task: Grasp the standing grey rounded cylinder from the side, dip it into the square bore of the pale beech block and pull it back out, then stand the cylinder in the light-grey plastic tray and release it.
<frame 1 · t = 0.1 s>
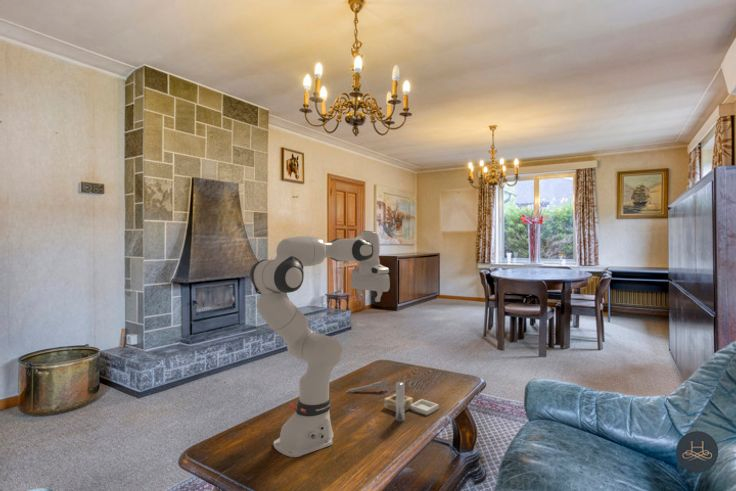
hand: (369, 300, 170), 48 cm above the table, tool pointing down, fingers open, 8 cm apart
grey rounded cylinder: (400, 419, 162), on the table
caliper: (366, 392, 192), on the table
bore block: (398, 407, 174), on the table
tray: (424, 409, 172), on the table
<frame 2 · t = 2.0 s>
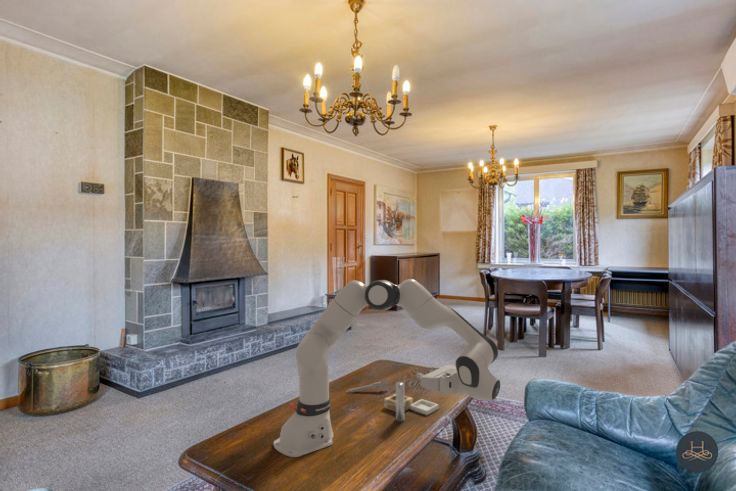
hand: (424, 372, 153), 22 cm above the table, tool horizontal, fingers open, 8 cm apart
nothing on the table moved.
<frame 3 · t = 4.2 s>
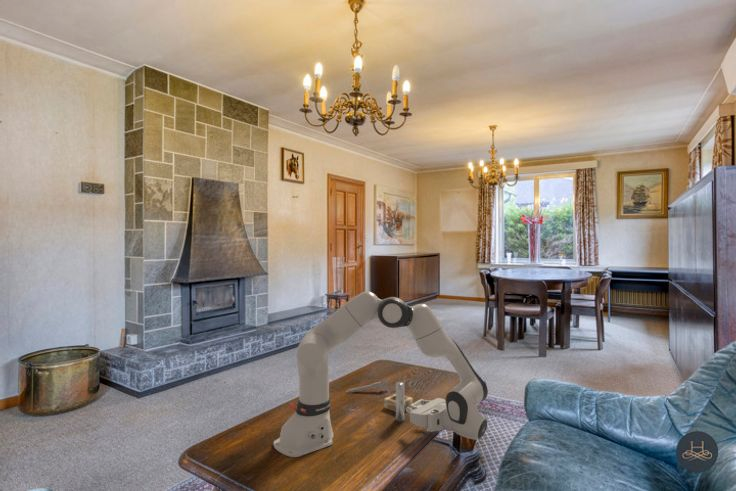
hand: (414, 405, 156), 8 cm above the table, tool horizontal, fingers open, 8 cm apart
nothing on the table moved.
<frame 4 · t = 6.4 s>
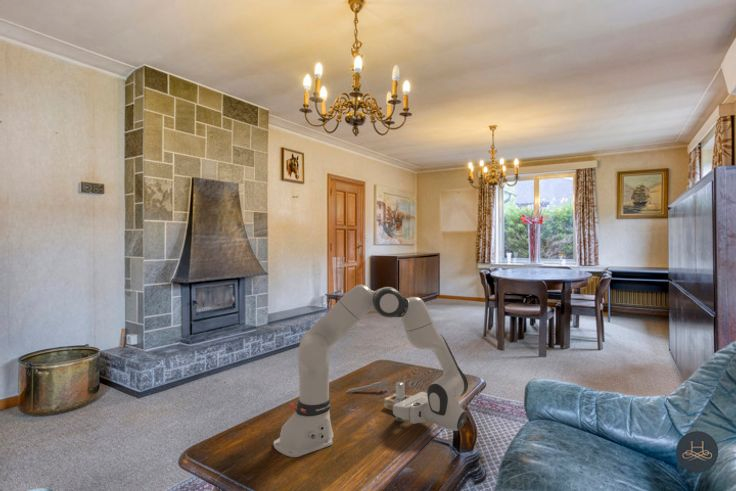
hand: (398, 398, 162), 8 cm above the table, tool horizontal, fingers closed on grey rounded cylinder, 4 cm apart
grey rounded cylinder: (400, 419, 162), on the table, touching gripper
everything else where it was.
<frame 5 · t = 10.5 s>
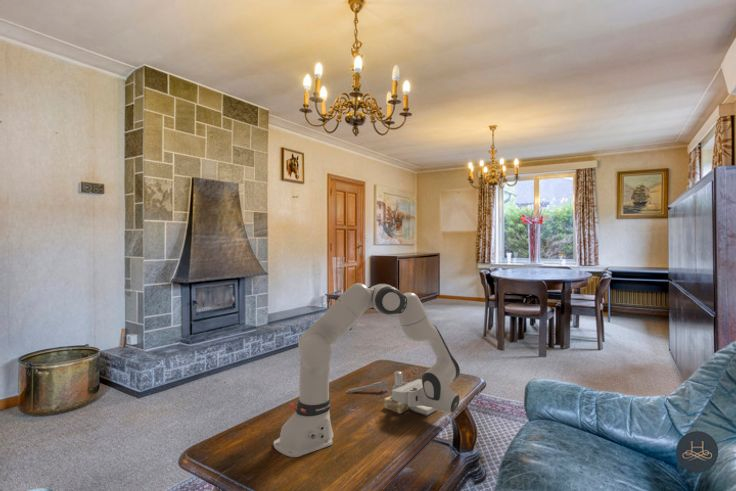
hand: (396, 385, 174), 9 cm above the table, tool horizontal, fingers closed on grey rounded cylinder, 4 cm apart
grey rounded cylinder: (398, 406, 174), point 1 cm above the table, touching gripper
everything else where it was.
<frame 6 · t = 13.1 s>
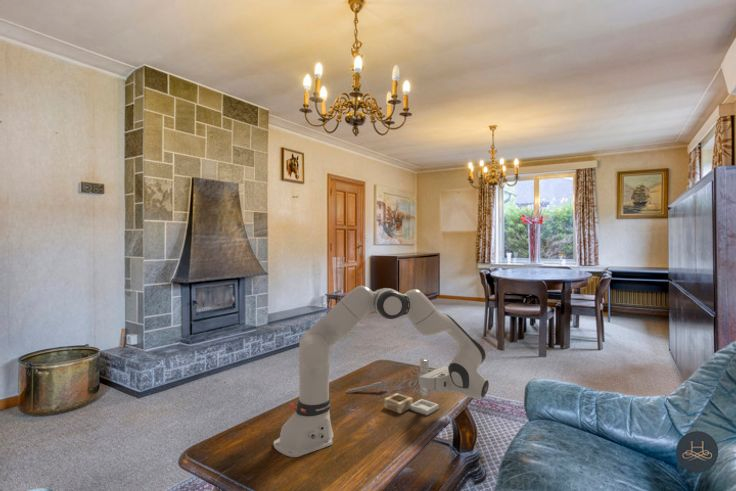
hand: (422, 372, 172), 16 cm above the table, tool horizontal, fingers closed on grey rounded cylinder, 4 cm apart
grey rounded cylinder: (424, 394, 171), point 7 cm above the table, touching gripper
everything else where it was.
when the fingers open (10 cm above the table, at t = 14.7 s): grey rounded cylinder stays where it is, resting on tray.
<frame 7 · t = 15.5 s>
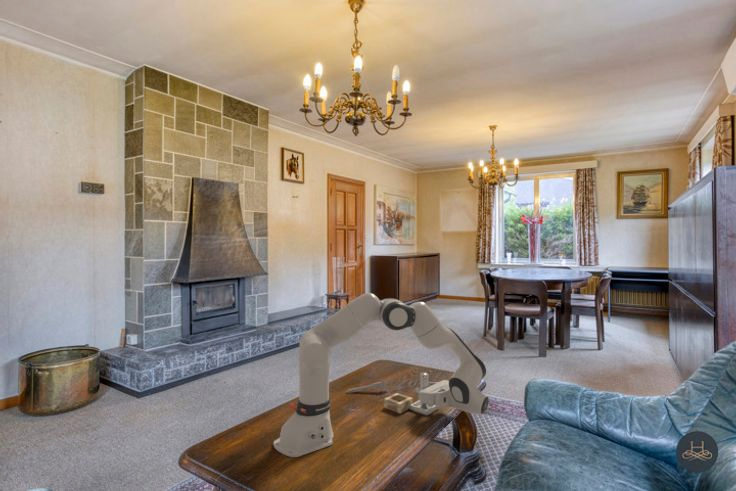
hand: (422, 386, 172), 10 cm above the table, tool horizontal, fingers open, 8 cm apart
grey rounded cylinder: (424, 407, 172), point 1 cm above the table, touching tray
everything else where it was.
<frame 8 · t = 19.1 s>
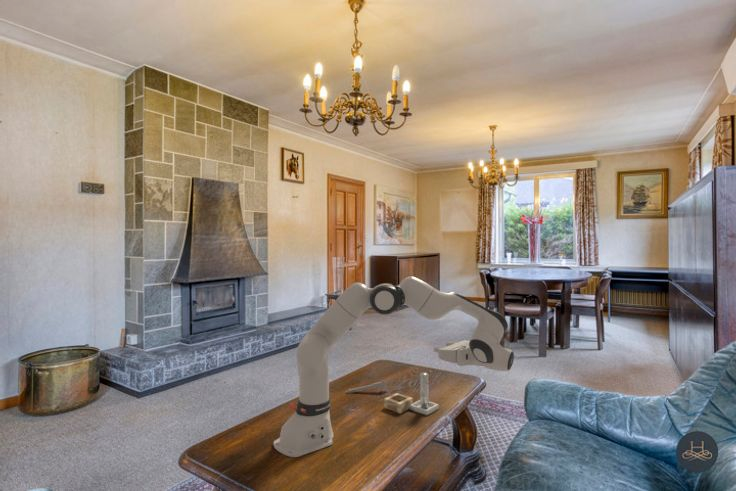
hand: (441, 346, 162), 30 cm above the table, tool horizontal, fingers open, 8 cm apart
nothing on the table moved.
at the end: grey rounded cylinder inside the target area on the tray (0.1 cm from its centre), point 0.6 cm above the tray's base; grey rounded cylinder tilted 0°; the gripper is holding nothing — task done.
